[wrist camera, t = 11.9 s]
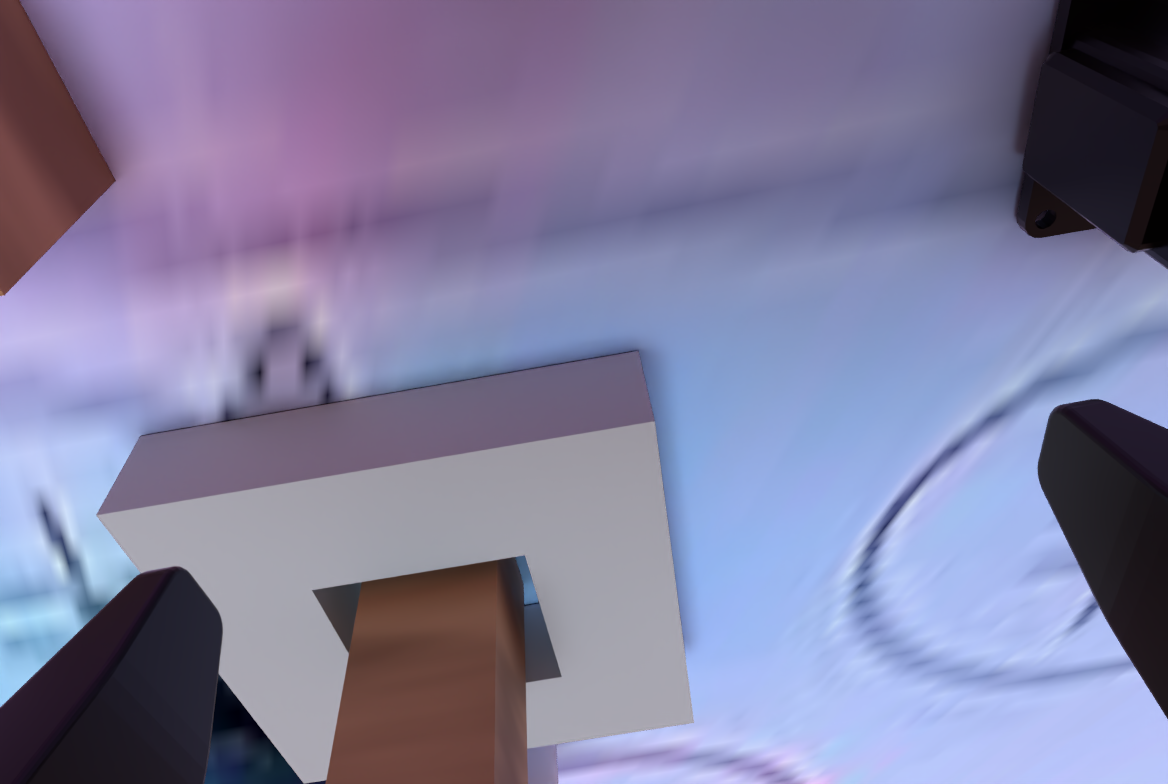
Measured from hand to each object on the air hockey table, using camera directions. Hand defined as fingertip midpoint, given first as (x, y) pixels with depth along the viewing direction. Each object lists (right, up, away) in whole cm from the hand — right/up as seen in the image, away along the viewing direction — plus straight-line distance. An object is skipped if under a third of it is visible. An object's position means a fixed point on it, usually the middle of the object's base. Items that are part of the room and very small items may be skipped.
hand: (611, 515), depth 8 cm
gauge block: (-4, -6, +20) cm, 21 cm away
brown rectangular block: (-5, -4, +18) cm, 19 cm away
